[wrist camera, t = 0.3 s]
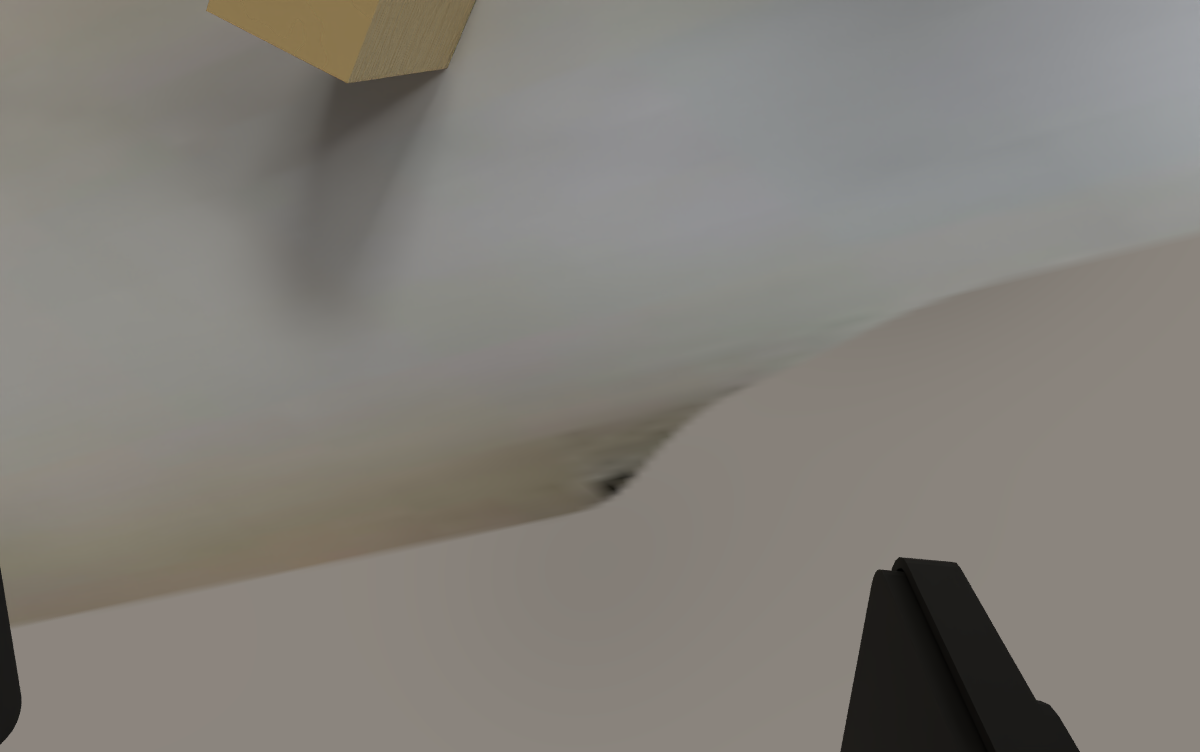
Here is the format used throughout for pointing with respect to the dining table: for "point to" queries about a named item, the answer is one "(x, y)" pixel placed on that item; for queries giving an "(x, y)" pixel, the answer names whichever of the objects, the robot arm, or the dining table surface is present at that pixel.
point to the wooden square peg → (355, 32)
